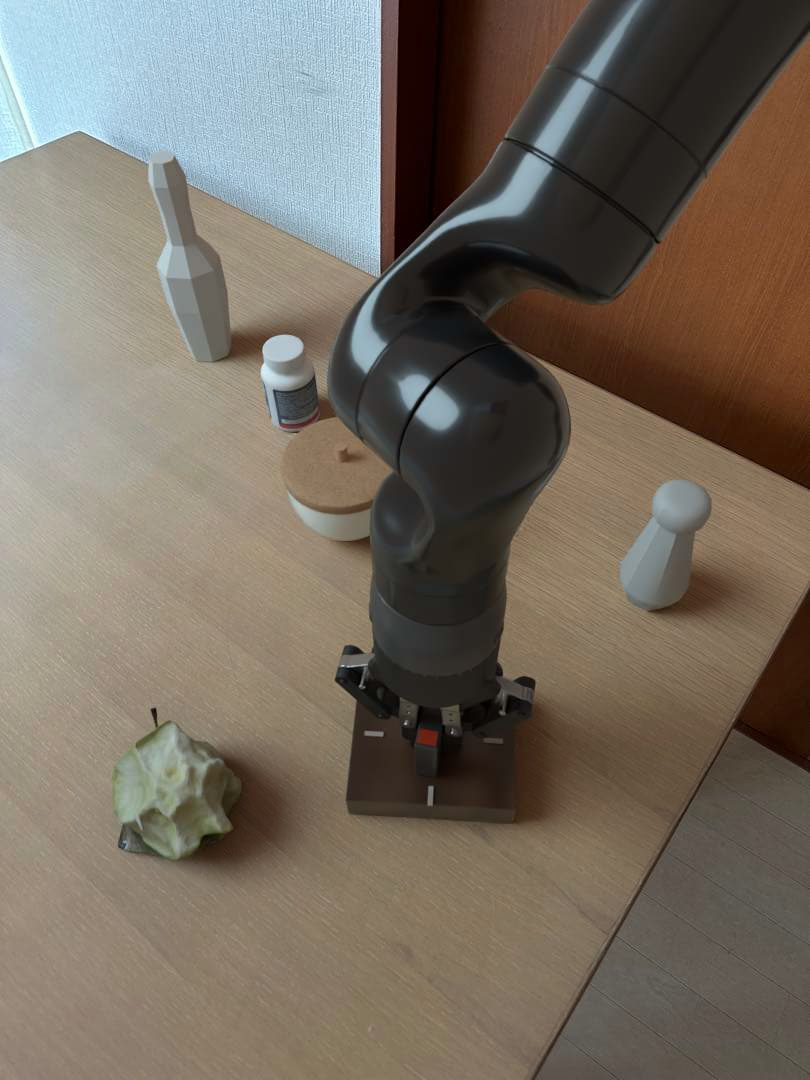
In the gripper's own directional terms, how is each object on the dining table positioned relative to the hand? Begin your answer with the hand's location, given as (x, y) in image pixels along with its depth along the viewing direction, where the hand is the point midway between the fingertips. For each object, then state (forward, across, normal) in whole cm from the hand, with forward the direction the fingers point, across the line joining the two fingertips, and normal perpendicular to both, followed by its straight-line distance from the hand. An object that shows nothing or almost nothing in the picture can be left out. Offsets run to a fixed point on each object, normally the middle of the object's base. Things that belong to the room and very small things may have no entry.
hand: (432, 738), depth 61 cm
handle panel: (+3, 0, 0) cm, 3 cm away
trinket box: (+4, +12, -22) cm, 25 cm away
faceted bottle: (+4, +33, -42) cm, 54 cm away
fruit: (+4, +17, +7) cm, 19 cm away
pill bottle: (+4, +21, -34) cm, 40 cm away
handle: (0, 0, 0) cm, 0 cm away
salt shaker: (+3, -16, -18) cm, 24 cm away
